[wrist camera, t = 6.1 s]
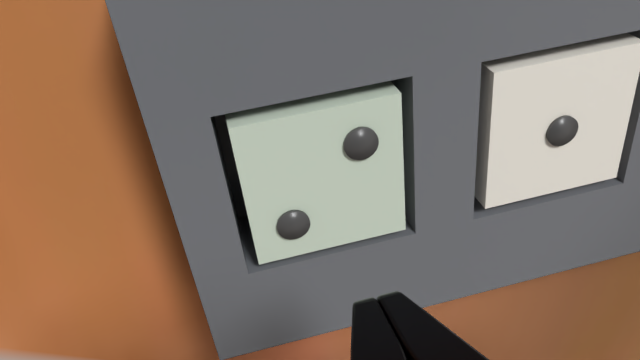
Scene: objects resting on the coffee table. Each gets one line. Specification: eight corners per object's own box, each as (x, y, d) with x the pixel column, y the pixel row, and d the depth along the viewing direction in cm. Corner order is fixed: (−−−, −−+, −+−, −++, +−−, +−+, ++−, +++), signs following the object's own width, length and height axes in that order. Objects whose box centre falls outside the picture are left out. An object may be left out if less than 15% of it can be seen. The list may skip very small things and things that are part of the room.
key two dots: (368, 55, 14) (403, 95, 12) (376, 180, 16) (407, 231, 14) (218, 84, 14) (228, 131, 12) (246, 209, 16) (259, 267, 14)
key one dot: (582, 12, 15) (649, 42, 13) (564, 136, 17) (618, 179, 15) (449, 39, 15) (496, 74, 12) (447, 163, 17) (487, 211, 15)
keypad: (847, -162, 15) (983, -159, 12) (734, 159, 20) (812, 206, 18) (114, -44, 12) (101, -10, 10) (212, 286, 18) (220, 360, 15)
